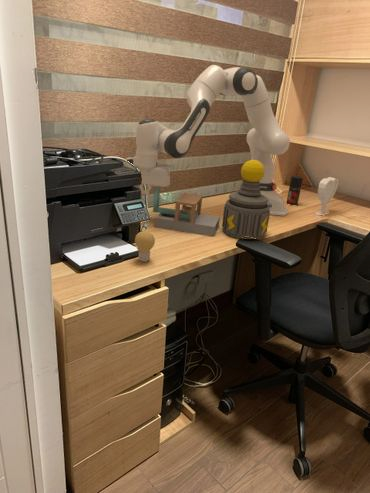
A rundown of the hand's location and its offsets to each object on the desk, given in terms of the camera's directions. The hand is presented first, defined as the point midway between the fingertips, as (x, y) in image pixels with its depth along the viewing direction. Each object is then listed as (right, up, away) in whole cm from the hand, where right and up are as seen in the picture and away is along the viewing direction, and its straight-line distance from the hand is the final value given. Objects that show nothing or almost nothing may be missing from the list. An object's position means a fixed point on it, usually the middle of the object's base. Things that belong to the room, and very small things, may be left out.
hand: (145, 194), depth 159 cm
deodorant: (+75, +1, +47) cm, 88 cm away
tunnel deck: (+18, -13, +1) cm, 22 cm away
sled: (+12, -8, 0) cm, 15 cm away
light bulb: (+3, -26, -34) cm, 43 cm away
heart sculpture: (+87, -5, +36) cm, 94 cm away
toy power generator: (+41, -16, -1) cm, 44 cm away
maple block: (+18, -9, -1) cm, 20 cm away
